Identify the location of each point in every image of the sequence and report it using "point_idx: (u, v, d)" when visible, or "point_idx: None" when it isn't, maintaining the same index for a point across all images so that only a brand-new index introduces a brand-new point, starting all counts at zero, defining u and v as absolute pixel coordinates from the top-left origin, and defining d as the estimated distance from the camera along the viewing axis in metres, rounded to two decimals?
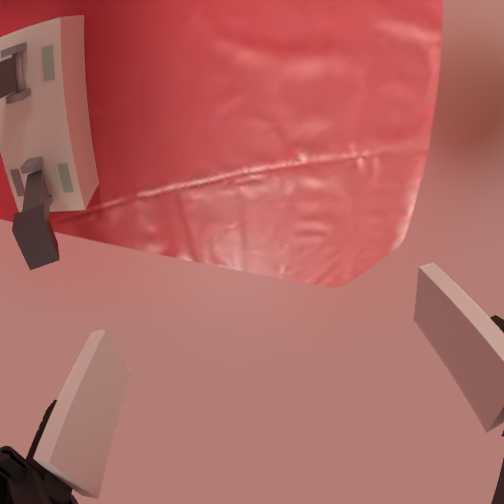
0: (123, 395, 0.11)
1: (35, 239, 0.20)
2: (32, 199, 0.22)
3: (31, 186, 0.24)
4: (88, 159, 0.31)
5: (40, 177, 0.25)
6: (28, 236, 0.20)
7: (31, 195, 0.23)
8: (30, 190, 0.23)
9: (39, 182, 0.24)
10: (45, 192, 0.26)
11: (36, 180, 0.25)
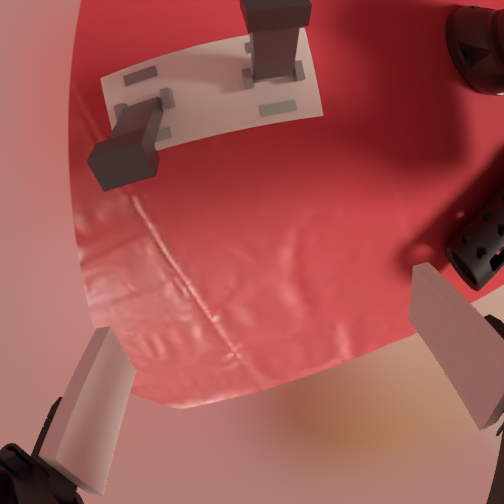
0: (128, 392, 0.12)
1: (129, 167, 0.20)
2: (152, 132, 0.23)
3: (155, 115, 0.24)
4: None
5: (160, 118, 0.26)
6: (133, 159, 0.20)
7: (153, 126, 0.23)
8: (154, 118, 0.24)
9: (159, 122, 0.25)
10: None
11: (159, 116, 0.26)
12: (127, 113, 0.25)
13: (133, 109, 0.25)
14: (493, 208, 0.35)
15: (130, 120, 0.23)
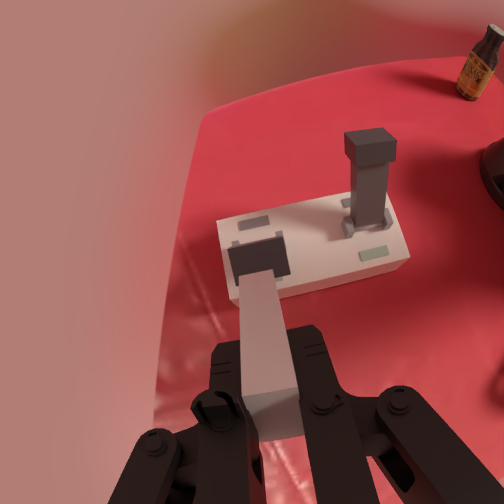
0: None
1: (267, 262, 0.24)
2: None
3: None
4: None
5: None
6: (272, 254, 0.24)
7: None
8: None
9: None
10: None
11: None
12: None
13: None
14: None
15: None
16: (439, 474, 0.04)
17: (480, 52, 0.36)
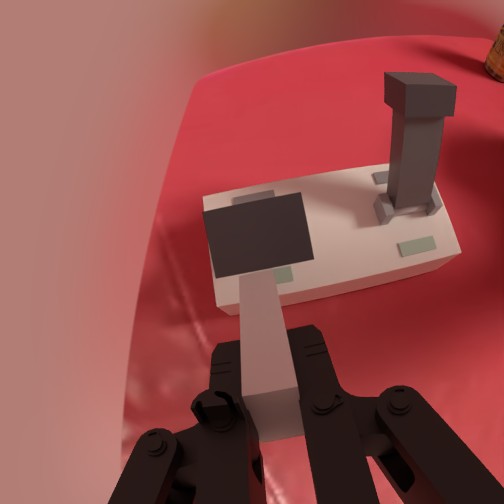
0: None
1: (273, 236, 0.13)
2: None
3: None
4: None
5: None
6: (282, 222, 0.13)
7: None
8: None
9: None
10: None
11: None
12: None
13: None
14: None
15: None
16: (439, 474, 0.04)
17: None
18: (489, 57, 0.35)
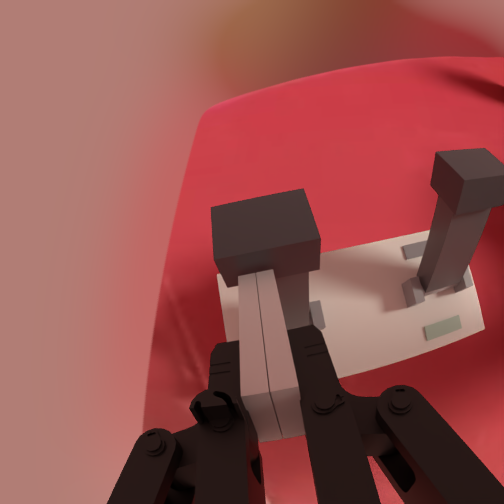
0: None
1: (277, 221, 0.13)
2: None
3: None
4: None
5: None
6: (286, 210, 0.13)
7: None
8: None
9: (308, 305, 0.19)
10: None
11: None
12: None
13: None
14: None
15: None
16: (440, 474, 0.04)
17: None
18: None
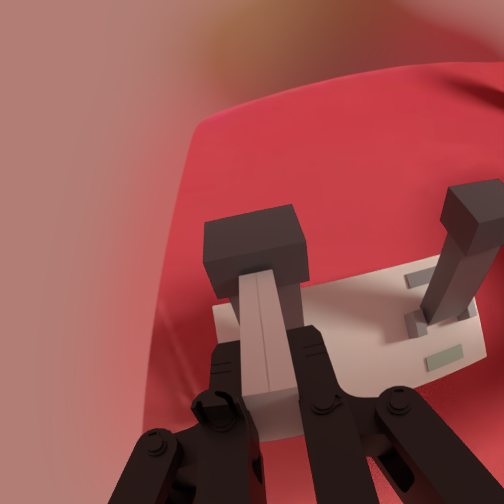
0: None
1: (265, 229, 0.14)
2: None
3: None
4: None
5: None
6: (274, 221, 0.14)
7: None
8: None
9: None
10: None
11: None
12: None
13: None
14: None
15: None
16: (439, 474, 0.04)
17: None
18: None
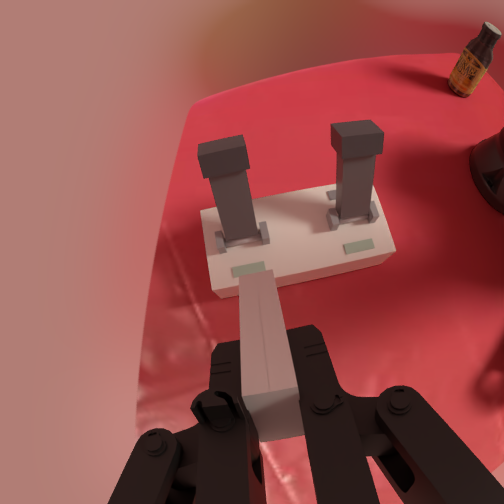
0: None
1: (227, 143, 0.27)
2: None
3: None
4: None
5: (255, 220, 0.33)
6: (232, 140, 0.28)
7: None
8: None
9: (253, 211, 0.32)
10: (238, 223, 0.33)
11: None
12: None
13: None
14: None
15: None
16: (439, 474, 0.04)
17: (474, 49, 0.37)
18: (452, 75, 0.46)
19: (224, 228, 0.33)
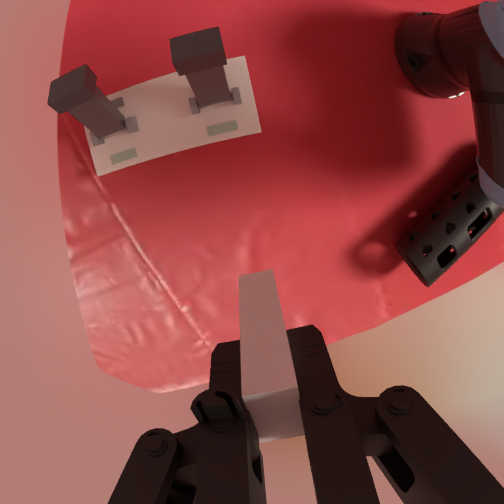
0: None
1: (71, 82, 0.22)
2: (102, 99, 0.27)
3: (113, 108, 0.29)
4: None
5: (118, 121, 0.31)
6: (76, 76, 0.22)
7: (105, 102, 0.27)
8: (110, 105, 0.29)
9: (114, 116, 0.30)
10: (104, 127, 0.31)
11: (116, 116, 0.30)
12: None
13: None
14: (443, 208, 0.41)
15: None
16: (439, 474, 0.04)
17: None
18: None
19: (94, 132, 0.31)
